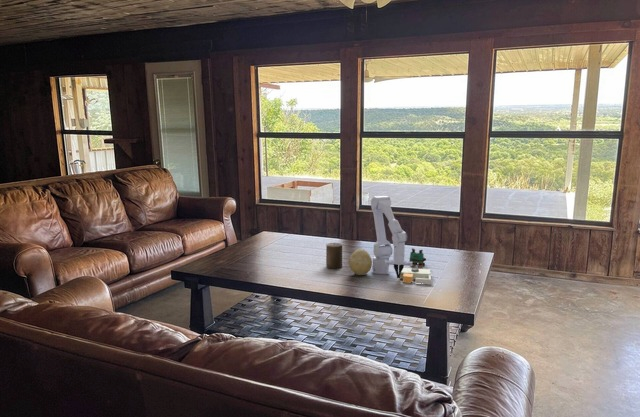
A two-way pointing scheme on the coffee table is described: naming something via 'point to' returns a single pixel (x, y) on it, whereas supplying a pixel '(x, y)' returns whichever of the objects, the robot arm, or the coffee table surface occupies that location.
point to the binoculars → (417, 258)
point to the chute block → (407, 277)
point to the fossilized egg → (360, 262)
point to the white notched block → (418, 275)
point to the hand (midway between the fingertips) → (398, 277)
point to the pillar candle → (334, 255)
